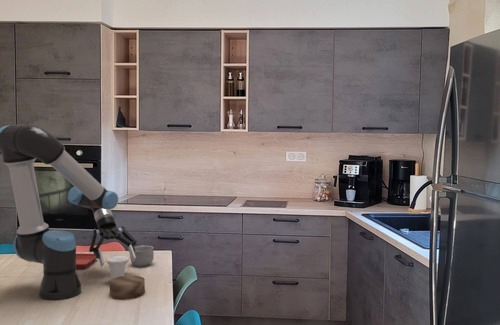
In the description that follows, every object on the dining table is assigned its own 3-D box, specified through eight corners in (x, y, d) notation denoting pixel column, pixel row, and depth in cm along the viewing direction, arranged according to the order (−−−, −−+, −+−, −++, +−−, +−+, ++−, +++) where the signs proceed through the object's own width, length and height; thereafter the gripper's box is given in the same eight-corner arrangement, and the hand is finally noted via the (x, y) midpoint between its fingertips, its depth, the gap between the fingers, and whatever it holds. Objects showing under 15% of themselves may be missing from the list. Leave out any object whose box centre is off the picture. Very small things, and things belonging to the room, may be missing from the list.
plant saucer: (86, 271, 222) (86, 263, 222) (46, 270, 223) (46, 263, 223) (99, 260, 240) (99, 253, 240) (62, 260, 241) (62, 253, 241)
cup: (106, 286, 200) (106, 261, 199) (106, 279, 209) (106, 256, 208) (129, 284, 202) (129, 260, 201) (128, 277, 211) (128, 254, 210)
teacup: (150, 268, 226) (150, 250, 225) (126, 268, 226) (126, 250, 226) (157, 260, 240) (156, 243, 239) (134, 260, 240) (134, 243, 240)
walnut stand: (121, 301, 182) (121, 288, 182) (103, 293, 191) (103, 280, 191) (151, 293, 191) (151, 280, 191) (132, 285, 200) (132, 273, 200)
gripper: (129, 222, 228) (143, 261, 218) (74, 228, 213) (86, 271, 203) (134, 212, 224) (149, 252, 213) (78, 218, 209) (91, 261, 198)
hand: (118, 262), depth 208 cm, fingers open, 13 cm apart
